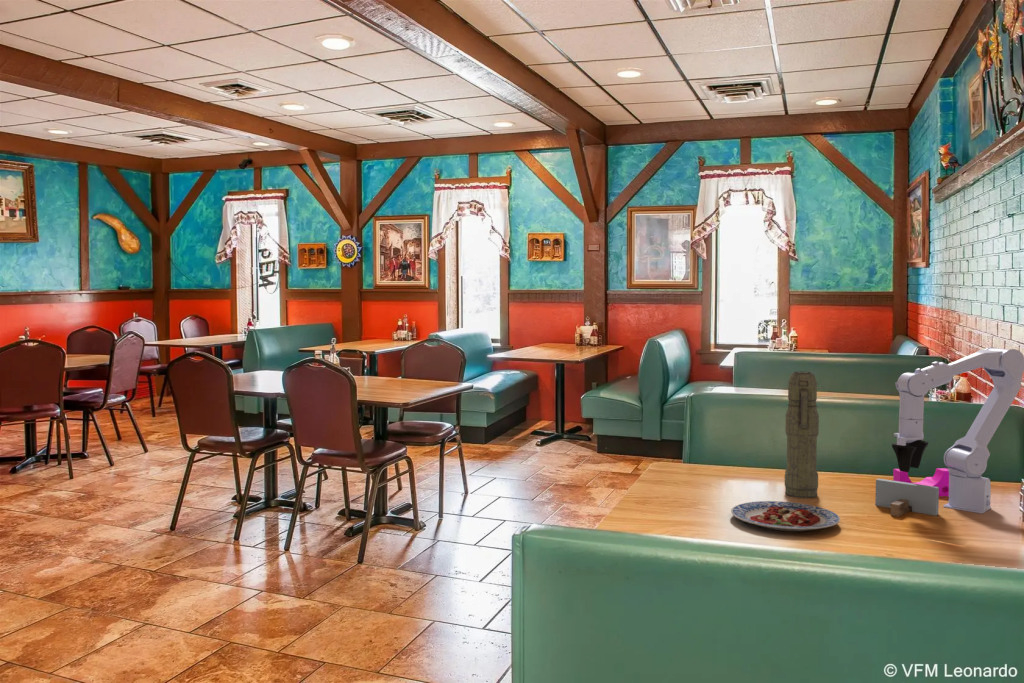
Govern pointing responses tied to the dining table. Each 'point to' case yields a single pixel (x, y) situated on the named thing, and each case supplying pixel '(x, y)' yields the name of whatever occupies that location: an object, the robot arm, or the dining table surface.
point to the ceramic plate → (785, 515)
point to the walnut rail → (900, 507)
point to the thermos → (802, 436)
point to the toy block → (927, 480)
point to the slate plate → (908, 495)
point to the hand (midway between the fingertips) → (909, 469)
